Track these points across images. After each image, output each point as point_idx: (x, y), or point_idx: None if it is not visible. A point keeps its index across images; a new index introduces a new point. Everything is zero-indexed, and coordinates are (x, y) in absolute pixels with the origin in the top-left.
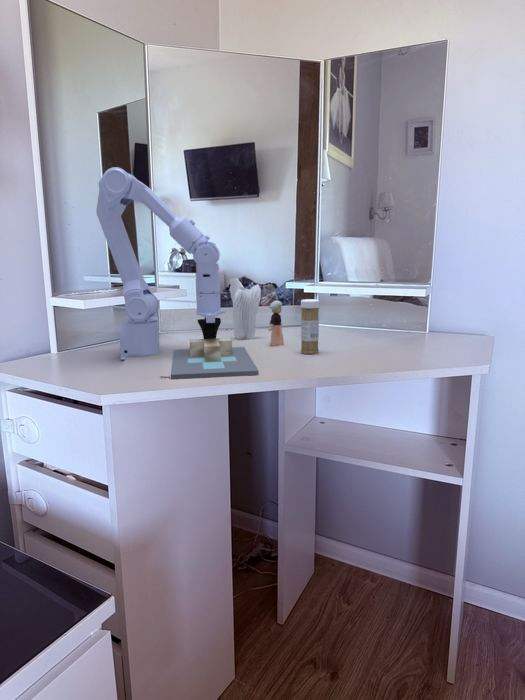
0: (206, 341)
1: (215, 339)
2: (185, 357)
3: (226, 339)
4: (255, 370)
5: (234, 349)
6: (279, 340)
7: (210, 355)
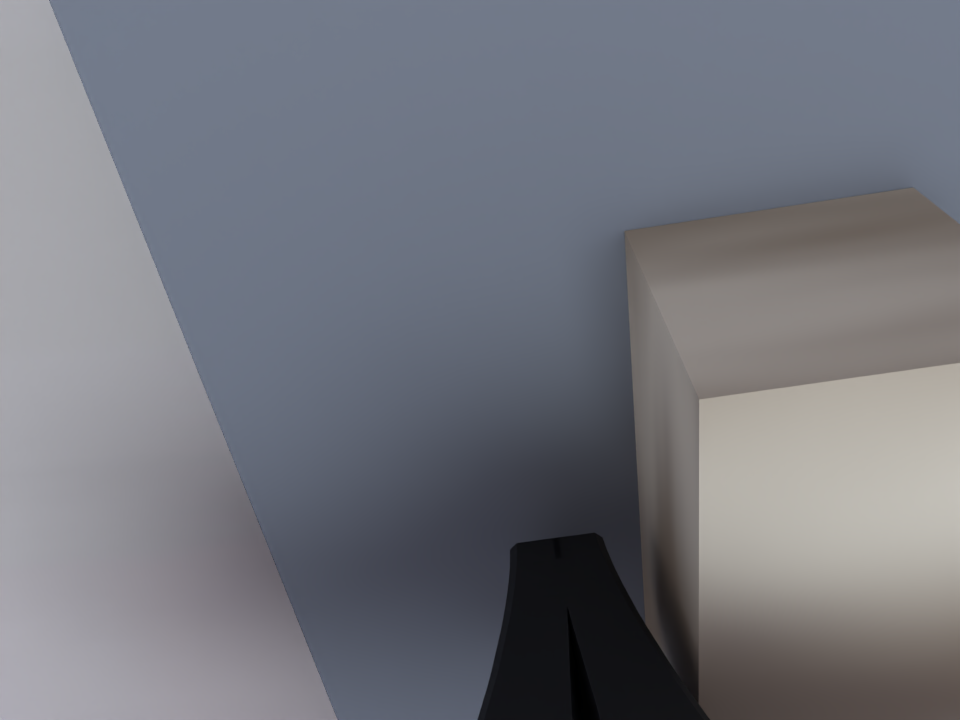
0: None
1: (809, 652)
2: None
3: (897, 470)
4: None
5: (368, 175)
6: None
7: None
